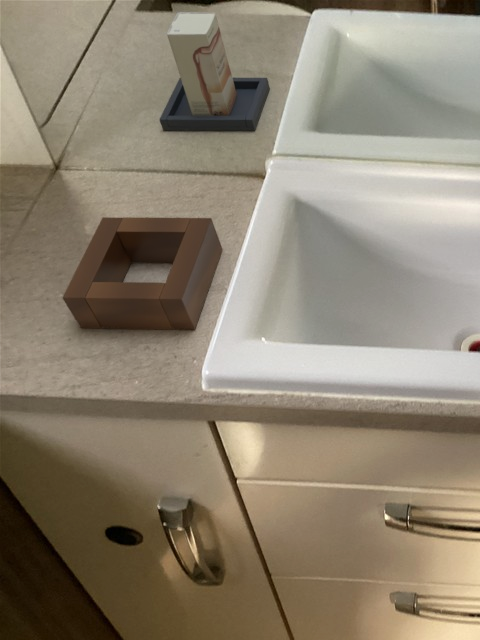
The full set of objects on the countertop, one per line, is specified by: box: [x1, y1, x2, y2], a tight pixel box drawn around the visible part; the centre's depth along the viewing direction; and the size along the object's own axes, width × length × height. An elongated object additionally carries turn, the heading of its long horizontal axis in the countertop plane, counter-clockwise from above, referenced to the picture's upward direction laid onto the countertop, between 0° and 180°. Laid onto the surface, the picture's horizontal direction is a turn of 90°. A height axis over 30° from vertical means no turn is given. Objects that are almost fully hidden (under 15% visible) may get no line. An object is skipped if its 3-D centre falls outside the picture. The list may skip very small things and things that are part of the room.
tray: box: [159, 77, 271, 132], centre depth 92 cm, size 11×9×2 cm
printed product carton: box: [166, 11, 237, 116], centre depth 88 cm, size 5×4×10 cm
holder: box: [62, 216, 223, 331], centre depth 73 cm, size 10×10×4 cm
